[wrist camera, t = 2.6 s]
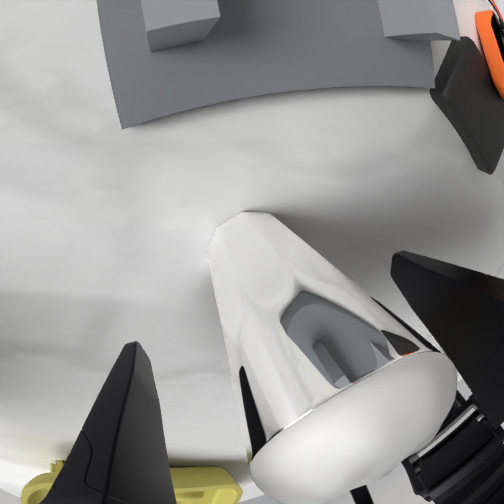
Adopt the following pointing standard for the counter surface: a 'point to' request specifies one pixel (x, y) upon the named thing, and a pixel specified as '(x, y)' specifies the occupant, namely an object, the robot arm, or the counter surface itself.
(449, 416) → the robot arm
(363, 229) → the counter surface
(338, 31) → the header socket
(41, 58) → the counter surface
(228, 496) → the plastic component
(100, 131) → the counter surface
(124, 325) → the counter surface
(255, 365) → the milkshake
